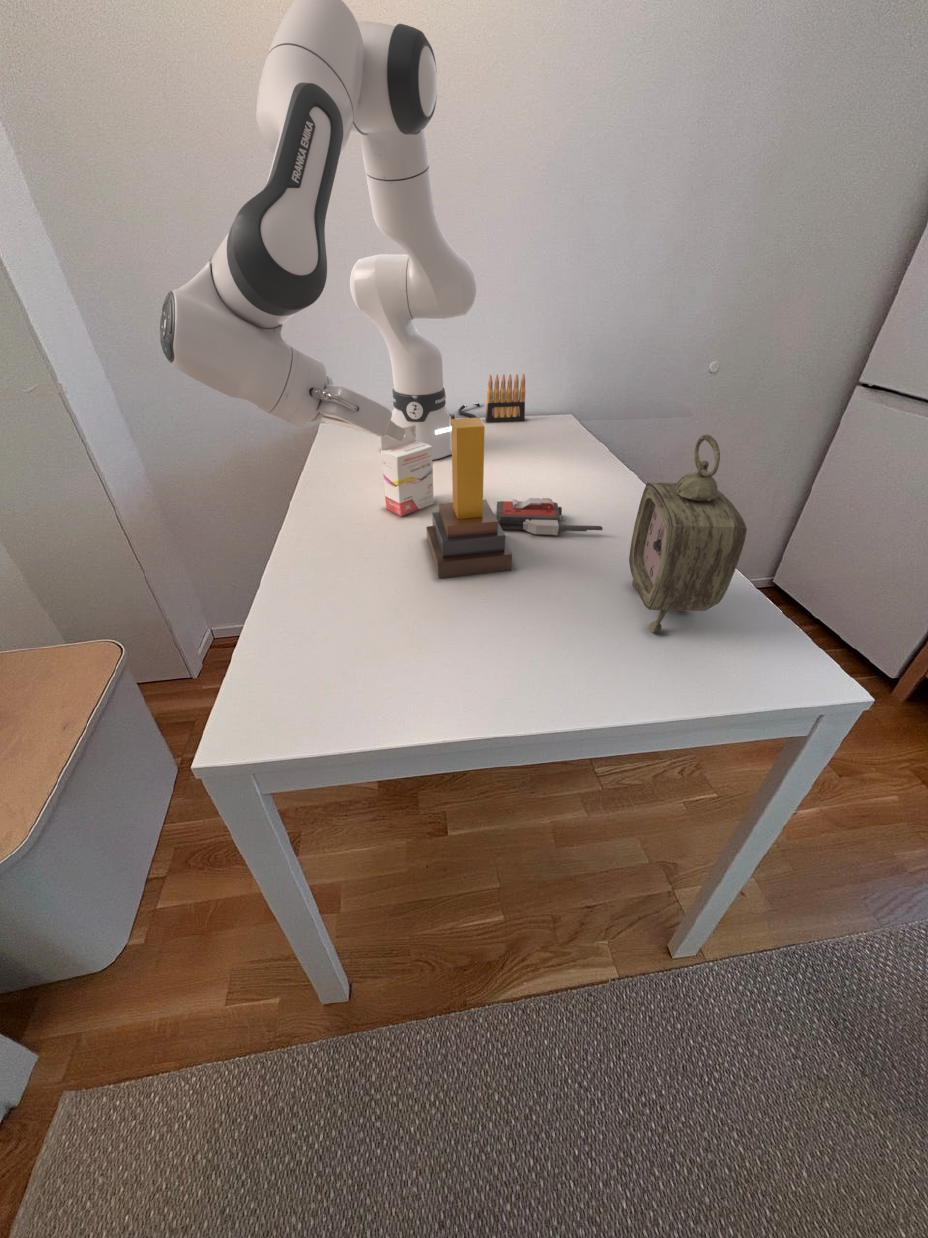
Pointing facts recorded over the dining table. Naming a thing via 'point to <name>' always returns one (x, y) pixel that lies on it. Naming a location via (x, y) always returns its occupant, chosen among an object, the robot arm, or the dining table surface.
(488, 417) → the ammunition clip
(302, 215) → the robot arm
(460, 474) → the bar
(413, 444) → the ink cartridge box
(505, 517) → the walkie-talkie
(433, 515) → the stacked square slabs
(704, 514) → the tabletop clock
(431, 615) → the dining table surface
